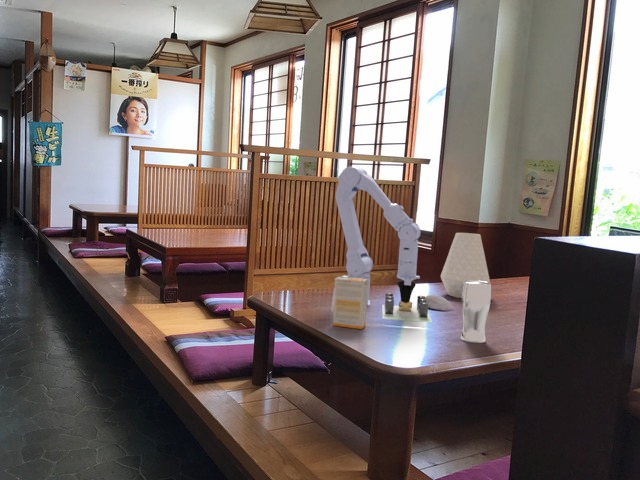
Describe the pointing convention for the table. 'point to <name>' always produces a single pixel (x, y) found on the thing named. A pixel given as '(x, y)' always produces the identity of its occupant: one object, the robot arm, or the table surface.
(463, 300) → the beer glass
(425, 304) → the spacers
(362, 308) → the supplement box
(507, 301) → the table surface
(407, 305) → the brass knob
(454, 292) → the vase
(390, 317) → the field mat
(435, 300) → the seashell
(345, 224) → the robot arm
